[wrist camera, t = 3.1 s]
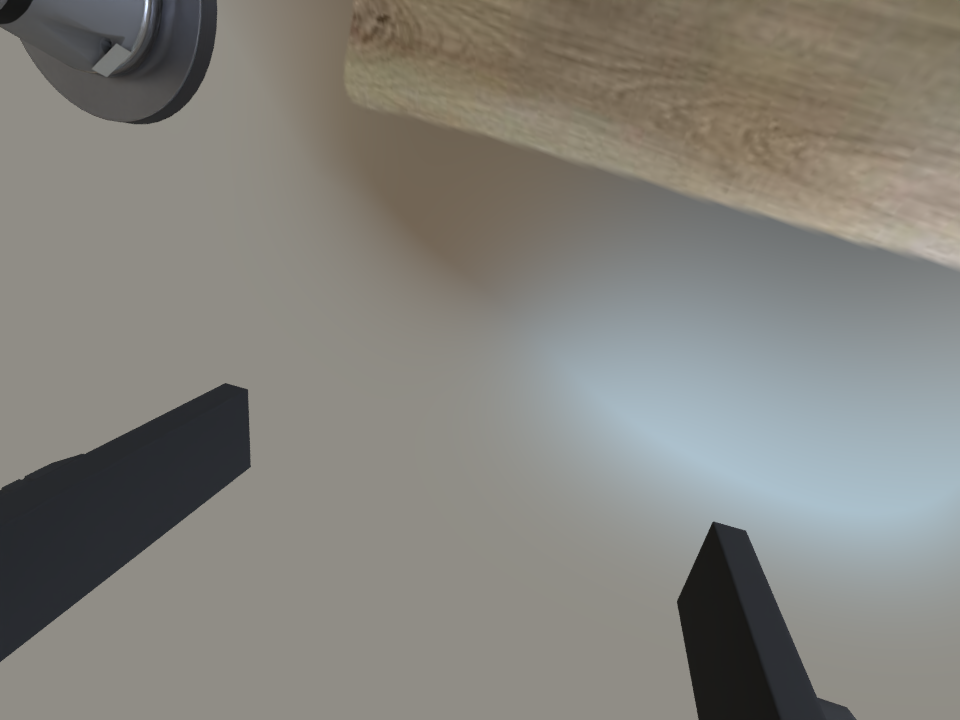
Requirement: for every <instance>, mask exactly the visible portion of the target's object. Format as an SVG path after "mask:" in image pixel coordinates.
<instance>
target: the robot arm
mask: <svg viewBox="0 0 960 720" xmlns="http://www.w3.org/2000/svg"><path fill="white" fill-rule="evenodd" d="M162 9H163V0H0V27H1V28H3V29H5V30H7V31H8V32H10V33H12V34H14V35H15V36H17V37H19V38H21V39H22V40H24V41H26V42H28V43H29V44H31V45H33V46H35V47H36V48H38V49H40V50H41V51H43V52H45V53H47V54H48V55H50V56H52V57H54V58H55V59H57V60H59V61H61V62H62V63H64V64H66V65H68V66H70V67H72V68H74V69H77V70H79V71H83V72H87V73H91V74H95V75H100V76H104V77H119V76H123V75H126V74H128V73H130V72H132V71H134V70H135V69H137V68H138V67H139V66H140V65H141V64H142V63H143V62H144V61H145V60H146V58H147V57H148V56H149V54H150V52H151V51H152V49H153V47H154V45H155V42H156V40H157V37H158V33H159V29H160V25H161V19H162ZM249 440H250V438H249V410H248V390H247V389H244V388H240V387H237V386H233V385H230V384H226V383H225V384H223V385H221V386H219V387H217V388H215V389H213V390H211V391H209V392H207V393H205V394H203V395H201V396H199V397H197V398H195V399H193V400H191V401H189V402H187V403H185V404H183V405H181V406H179V407H177V408H176V409H173V410H171V411H169V412H167V413H165V414H164V415H161V416H159V417H158V418H155V419H153V420H151V421H149V422H148V423H146V424H144V425H142V426H140V427H138V428H136V429H134V430H132V431H130V432H128V433H126V434H124V435H122V436H120V437H118V438H116V439H114V440H112V441H110V442H108V443H106V444H104V445H102V446H100V447H98V448H96V449H94V450H92V451H90V452H88V453H86V454H80V455H77V456H74V457H70V458H67V459H64V460H61V461H57V462H54V463H51V464H49V465H47V466H45V467H43V468H41V469H39V470H37V471H35V472H33V473H31V474H29V475H27V476H25V478H24V479H23V480H20V479H19V480H16V481H14V482H13V483H10V484H9V485H6V486H4V487H2V490H0V662H1V661H2V660H3V659H5V658H6V657H7V656H9V655H10V654H11V653H12V652H14V651H15V650H16V649H17V648H19V647H20V646H21V645H23V644H24V643H25V642H26V641H28V640H29V639H30V638H31V637H33V636H34V635H35V634H37V633H38V632H39V631H40V630H42V629H43V628H44V627H46V626H47V625H48V624H50V623H51V622H52V621H53V620H55V619H56V618H57V617H59V616H60V615H61V614H62V613H63V612H65V611H66V610H68V609H69V608H70V607H71V606H73V605H74V604H75V603H76V602H78V601H79V600H80V599H82V598H83V597H84V596H86V595H87V594H88V593H89V592H91V591H92V590H93V589H94V588H96V587H97V586H98V585H100V584H101V583H102V582H103V581H105V580H106V579H107V578H108V577H110V576H111V575H112V574H114V573H115V572H116V571H118V570H119V569H120V568H121V567H123V566H124V565H125V564H127V563H128V562H129V561H130V560H132V559H133V558H134V557H136V556H137V555H138V554H139V553H141V552H142V551H143V550H145V549H146V548H147V547H148V546H150V545H151V544H152V543H153V542H155V541H156V540H157V539H159V538H160V537H161V536H163V535H164V534H165V533H166V532H168V531H169V530H170V529H171V528H173V527H174V526H175V525H177V524H178V523H179V522H180V521H181V520H183V519H184V518H186V517H187V516H188V515H189V514H190V513H192V512H193V511H195V510H196V509H197V508H198V507H200V506H201V505H202V504H203V503H205V502H206V501H207V500H209V499H210V498H211V497H212V496H214V495H215V494H216V493H217V492H219V491H220V490H221V489H223V488H224V487H225V486H227V485H228V484H229V483H230V482H232V481H233V480H234V479H235V478H237V477H238V476H239V475H241V474H242V473H243V472H245V471H246V470H247V469H249V468H250V467H251V465H250V441H249ZM677 604H678V610H679V615H680V621H681V626H682V631H683V636H684V642H685V647H686V653H687V658H688V664H689V669H690V675H691V680H692V686H693V691H694V696H695V702H696V707H697V713H698V718H699V720H856V719H855V717H854V716H853V715H852V713H851V712H850V711H849V710H848V708H847V707H844V706H841V705H838V704H835V703H832V702H829V701H825V700H823V699H820V698H817V697H816V694H815V692H814V689H813V687H812V685H811V682H810V680H809V678H808V675H807V673H806V671H805V669H804V666H803V664H802V661H801V659H800V657H799V654H798V652H797V650H796V647H795V645H794V643H793V640H792V638H791V635H790V633H789V631H788V629H787V626H786V624H785V622H784V619H783V617H782V614H781V612H780V610H779V607H778V605H777V603H776V600H775V598H774V596H773V594H772V591H771V589H770V586H769V584H768V582H767V579H766V577H765V575H764V572H763V570H762V568H761V566H760V563H759V561H758V558H757V556H756V553H755V551H754V549H753V546H752V544H751V542H750V540H749V537H748V535H747V532H746V531H745V530H741V529H738V528H734V527H731V526H727V525H724V524H720V523H716V522H713V523H712V525H711V527H710V529H709V532H708V534H707V536H706V538H705V541H704V543H703V545H702V547H701V549H700V552H699V554H698V556H697V558H696V560H695V563H694V565H693V567H692V569H691V572H690V574H689V576H688V578H687V580H686V583H685V585H684V587H683V589H682V592H681V594H680V596H679V598H678V601H677Z"/></svg>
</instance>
